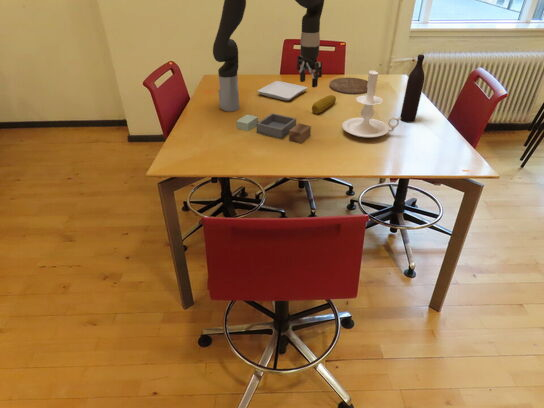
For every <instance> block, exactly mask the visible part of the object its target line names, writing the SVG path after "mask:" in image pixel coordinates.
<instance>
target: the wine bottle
mask: <svg viewBox="0 0 544 408" xmlns="http://www.w3.org/2000/svg"><path fill="white" fill-rule="evenodd" d="M416 58H417V60H416V64H415V66H414V68H413V69H412V70H411V72H410V73H409V75H408V78H407V82H406V87H405V92H404V97H403V103H402V106H401V107H402V108H401V111H400V116H399V117H400V118H401V119H400V120H401V121H402V122H405V123H413V122H415V120H416V118H417V114H418V109H419V105H420V101H421V97H422V92H423V89H424V88H423V87H424V84H425V71H424V68H423V66H424V65H423V64H424V60H425V54H418V55H417V57H416Z"/></svg>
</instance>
